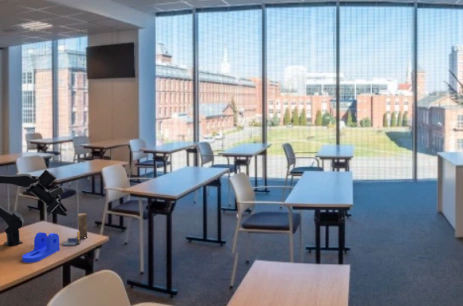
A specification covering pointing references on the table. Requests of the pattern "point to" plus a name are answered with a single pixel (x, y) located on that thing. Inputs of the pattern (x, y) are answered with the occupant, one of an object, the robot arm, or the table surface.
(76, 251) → the table surface
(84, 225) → the link block
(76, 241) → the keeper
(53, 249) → the bracket
